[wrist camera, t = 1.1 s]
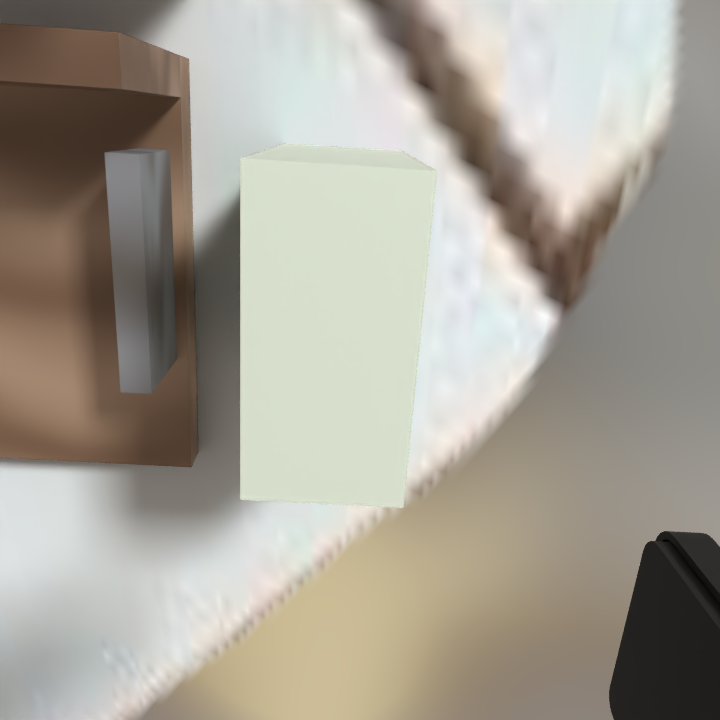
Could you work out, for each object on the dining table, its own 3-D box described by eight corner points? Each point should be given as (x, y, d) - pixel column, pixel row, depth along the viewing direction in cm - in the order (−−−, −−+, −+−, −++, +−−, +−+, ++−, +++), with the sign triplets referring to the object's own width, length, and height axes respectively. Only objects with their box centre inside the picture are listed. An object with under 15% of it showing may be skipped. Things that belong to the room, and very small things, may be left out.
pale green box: (285, 143, 28) (240, 158, 16) (402, 150, 28) (437, 170, 17) (280, 362, 31) (240, 499, 20) (384, 368, 31) (403, 507, 20)
